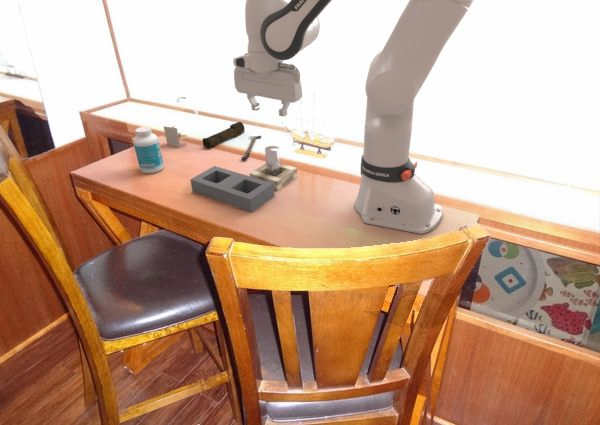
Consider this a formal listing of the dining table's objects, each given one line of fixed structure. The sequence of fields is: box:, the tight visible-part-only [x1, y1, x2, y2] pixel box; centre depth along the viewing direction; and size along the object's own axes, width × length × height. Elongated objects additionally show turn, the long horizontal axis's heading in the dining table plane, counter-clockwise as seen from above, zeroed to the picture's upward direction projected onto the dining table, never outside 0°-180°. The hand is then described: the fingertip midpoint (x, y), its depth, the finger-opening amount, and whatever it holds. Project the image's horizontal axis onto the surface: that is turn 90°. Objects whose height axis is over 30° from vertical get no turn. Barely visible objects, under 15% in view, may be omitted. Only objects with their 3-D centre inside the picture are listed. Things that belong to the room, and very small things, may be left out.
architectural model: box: [163, 125, 188, 148], centre depth 154 cm, size 3×7×7 cm, turn 65°
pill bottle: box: [132, 126, 165, 174], centre depth 136 cm, size 8×7×14 cm
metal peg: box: [264, 145, 281, 177], centre depth 128 cm, size 4×4×10 cm
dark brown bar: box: [201, 121, 245, 150], centre depth 156 cm, size 19×4×5 cm, turn 139°
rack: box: [189, 165, 275, 213], centre depth 123 cm, size 22×10×4 cm, turn 56°
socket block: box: [249, 162, 298, 191], centre depth 130 cm, size 10×10×3 cm
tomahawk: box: [241, 135, 262, 161], centre depth 151 cm, size 21×7×1 cm, turn 172°
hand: (269, 112), depth 120 cm, fingers open, 8 cm apart
